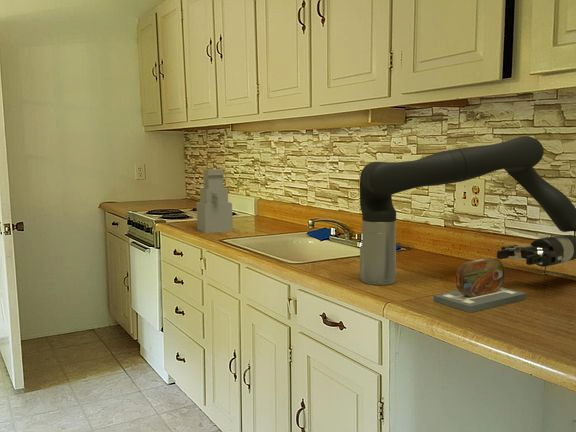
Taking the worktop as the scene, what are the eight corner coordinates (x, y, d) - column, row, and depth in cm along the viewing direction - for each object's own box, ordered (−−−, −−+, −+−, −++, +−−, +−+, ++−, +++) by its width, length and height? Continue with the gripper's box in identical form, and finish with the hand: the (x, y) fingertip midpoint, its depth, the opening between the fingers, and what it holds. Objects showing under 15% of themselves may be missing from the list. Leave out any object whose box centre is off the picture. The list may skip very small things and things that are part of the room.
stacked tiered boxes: (219, 226, 265) (217, 168, 261) (236, 232, 244) (235, 170, 240) (193, 227, 259) (191, 169, 256) (208, 234, 238) (207, 170, 235)
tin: (463, 299, 127) (464, 264, 126) (452, 296, 130) (453, 261, 129) (505, 290, 135) (506, 257, 134) (494, 287, 137) (495, 255, 136)
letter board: (433, 301, 131) (433, 294, 131) (488, 289, 142) (488, 283, 141) (470, 312, 122) (470, 305, 122) (525, 299, 132) (526, 293, 132)
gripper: (528, 233, 151) (489, 239, 142) (578, 240, 138) (538, 247, 130) (527, 260, 151) (488, 267, 143) (576, 269, 139) (537, 278, 131)
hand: (512, 257), depth 137 cm, fingers open, 8 cm apart
